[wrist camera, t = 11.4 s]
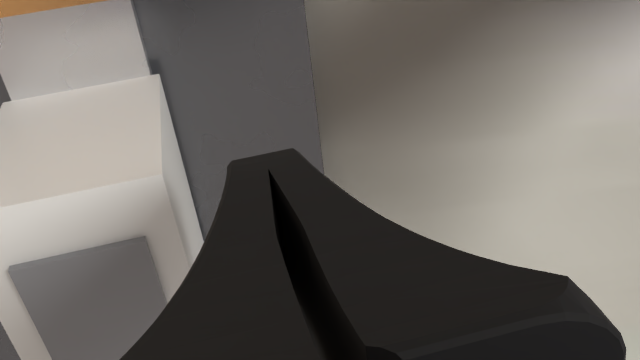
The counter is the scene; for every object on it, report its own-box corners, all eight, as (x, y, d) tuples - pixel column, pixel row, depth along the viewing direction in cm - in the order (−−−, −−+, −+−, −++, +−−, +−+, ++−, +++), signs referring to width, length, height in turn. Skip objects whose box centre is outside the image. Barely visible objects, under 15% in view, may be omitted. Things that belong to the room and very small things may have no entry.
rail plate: (283, -130, 18) (306, -118, 15) (337, 317, 27) (357, 372, 25) (-250, -54, 16) (-332, -26, 13) (12, 397, 25) (-4, 466, 23)
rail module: (159, 73, 18) (162, 178, 13) (212, 274, 23) (230, 412, 17) (2, 102, 18) (-59, 224, 13) (88, 303, 22) (69, 455, 17)
